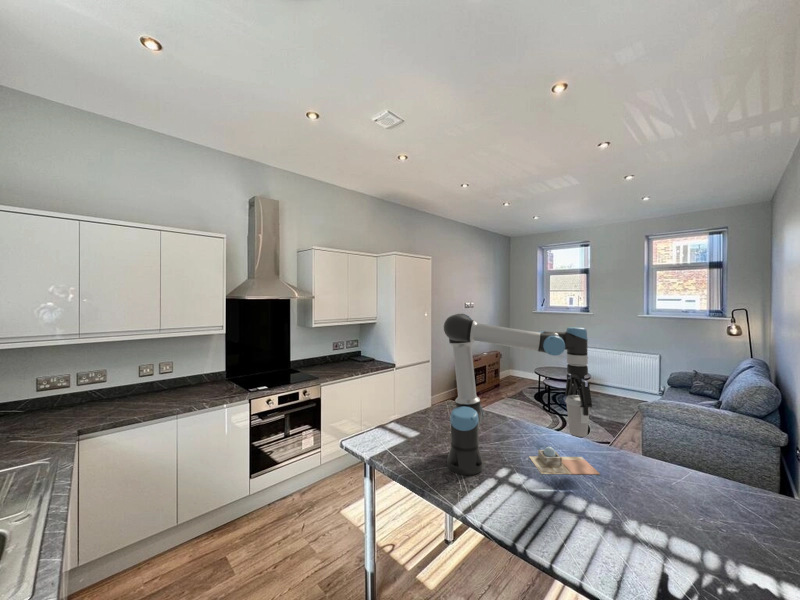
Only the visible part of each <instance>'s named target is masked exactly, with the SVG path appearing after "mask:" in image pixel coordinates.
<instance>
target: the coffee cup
mask: <svg viewBox="0 0 800 600" xmlns="http://www.w3.org/2000/svg"><path fill="white" fill-rule="evenodd" d="M564 402H565V404H566V411H567V420H568V421H567V422H568V430H569V434H570V435H572V436H573V437H578V438H586V437H588V433H589V431H588V430H589V423H581V407H580V406H581V405H582V404H581V400H580V397H579V394H575V395H569V396H567V395H566V398H565V401H564ZM590 409H591V407H589V408H588V414H589V415H590Z"/></svg>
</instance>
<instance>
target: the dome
mask: <svg viewBox="0 0 800 600" xmlns="http://www.w3.org/2000/svg"><path fill="white" fill-rule="evenodd" d="M543 450H544V455H545V456H546V457H555V451H556V450H555V449H554V448H553V447H552V446H546V447H545V448H544V449H543ZM554 450H555V451H554Z"/></svg>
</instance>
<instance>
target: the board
mask: <svg viewBox="0 0 800 600" xmlns="http://www.w3.org/2000/svg"><path fill="white" fill-rule="evenodd" d="M554 451H555V457H546V456H545V455H544V449H538V451H537V452H538V453H537V454H538V455H537V456H536V455H534V456H530V455H529V456H528V458H529V459H530V460H531V461H532V464H534V466H535V467H536V468H537V470H538V472H539V473H540V474H541V475H577V476H578V475H580V476H581V475H586V476H589V475H590V476H594V475H595V476H600V475H601V473H600V472H599V471H598V470H597V469H596V468H594V466H592V465H591V464H590V462H588V461H587V460H586V459H585V458H584V457H582V456H560V454H559V453H558V452H557V451H556V450H555V449H554Z"/></svg>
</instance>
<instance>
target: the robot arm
mask: <svg viewBox="0 0 800 600" xmlns="http://www.w3.org/2000/svg"><path fill="white" fill-rule="evenodd" d="M443 332H444V334H445V336H446V337H447V338H448V340H449V341H448V342H449V344H450V345H451V346H452V348H453V359H454V369H455V379H456V390H457V397H456V398H455V400H454V403H455V407H454V408H453V409H452V410H451V412H450V418H449V420H450V449H449V452H448V455H447V457H446V465H447V468H448V469H449V470H450V471H452V472H453V473H456V474H459V475H462V476H463V475H464V476H472V475H476V474H479V473H481V472H482V471H483V468H484V460H483V457H482V455H481V452H480V449H479V430H480V426H481V423H482V421H483V418H484V411H483V407H482V404H481V399H480V397H478V395H477V388H476V379H475V378H476V377H475V367H474V359H473V349H472V347H473V346H472V345H473V343H475V342H480V343H485V344H491V345H498V346H505V347H508V348H509V347H511V348H515V349H522V350H528V351H533V352H538V353H539V352H540V353H544V354H548V355H549V356H554V357H555V356H560V355H561V354H563V353H564V352H565V351H566V363H567V365H566V371H567V374H566V383H565V384H566V385H565V393H564V394H565V396H566V397H567V396H569V395H576V393H577V392H578V395H579V397H580V400H581V404H582V405H581V406H580V407H581V423H588V424H589V422H590V421H589V419H590V413H589V414H588V408H589V407H590V408H592V407H593V402H592V396H591V390H590V389H591V387H590V385H591V384H590V383H591V382H590V381H587V380H586V378H585V377H586V376H587V375H589V366H588V360H589V356H588V340H589V339H588V332H587V329H586V328H585V327H579V326H574V327H573V326H569V327H567V328H566V330H565V331H532V330H525V329H518V328H511V327H506V326H498V325H493V324H492V325H491V324H484V323H479V322H476V320H474V319H472V318H471V317H470V316H469V315H467V314H465V313H456V314H452V315H450V316H448V317H447V318H446V320H445V321H444V323H443Z"/></svg>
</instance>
